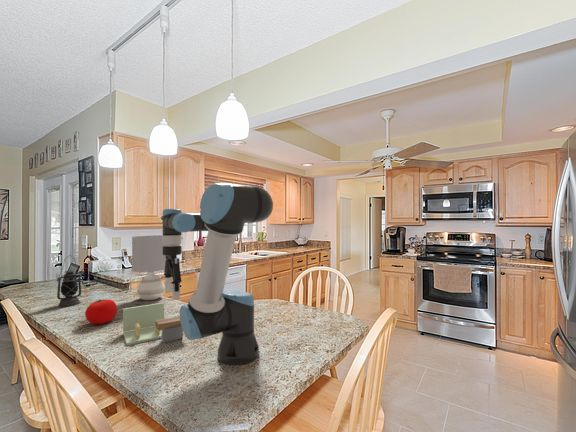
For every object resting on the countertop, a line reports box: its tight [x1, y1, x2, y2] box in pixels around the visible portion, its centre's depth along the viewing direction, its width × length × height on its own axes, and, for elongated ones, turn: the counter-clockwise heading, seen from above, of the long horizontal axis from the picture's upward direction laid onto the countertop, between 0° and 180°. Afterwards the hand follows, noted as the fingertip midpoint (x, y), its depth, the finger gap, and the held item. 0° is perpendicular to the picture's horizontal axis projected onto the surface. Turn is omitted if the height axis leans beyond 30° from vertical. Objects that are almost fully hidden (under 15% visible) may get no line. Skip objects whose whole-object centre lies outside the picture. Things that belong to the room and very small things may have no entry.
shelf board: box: [156, 315, 181, 331], centre depth 123 cm, size 6×12×2 cm, turn 124°
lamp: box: [131, 234, 167, 301], centre depth 189 cm, size 22×22×40 cm
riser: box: [161, 326, 184, 344], centre depth 123 cm, size 2×8×6 cm, turn 124°
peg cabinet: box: [122, 302, 165, 346], centre depth 129 cm, size 16×17×11 cm
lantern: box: [56, 254, 82, 308], centre depth 178 cm, size 12×11×30 cm
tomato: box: [84, 299, 118, 325], centre depth 144 cm, size 12×14×11 cm
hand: (172, 295), depth 123 cm, fingers open, 13 cm apart
